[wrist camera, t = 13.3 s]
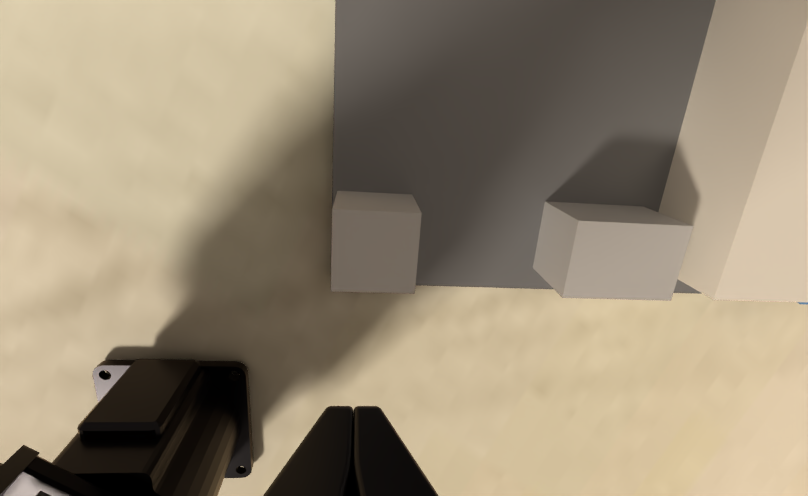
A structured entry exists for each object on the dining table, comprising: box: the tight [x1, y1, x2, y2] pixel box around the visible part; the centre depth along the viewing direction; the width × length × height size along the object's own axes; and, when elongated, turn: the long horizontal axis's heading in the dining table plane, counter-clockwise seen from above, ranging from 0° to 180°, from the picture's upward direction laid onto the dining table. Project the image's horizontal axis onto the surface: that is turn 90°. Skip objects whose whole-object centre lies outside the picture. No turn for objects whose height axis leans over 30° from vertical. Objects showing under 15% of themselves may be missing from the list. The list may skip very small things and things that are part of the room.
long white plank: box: [658, 0, 808, 302], centre depth 15 cm, size 16×4×4 cm, turn 176°
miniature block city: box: [331, 0, 808, 304], centre depth 15 cm, size 19×22×4 cm
